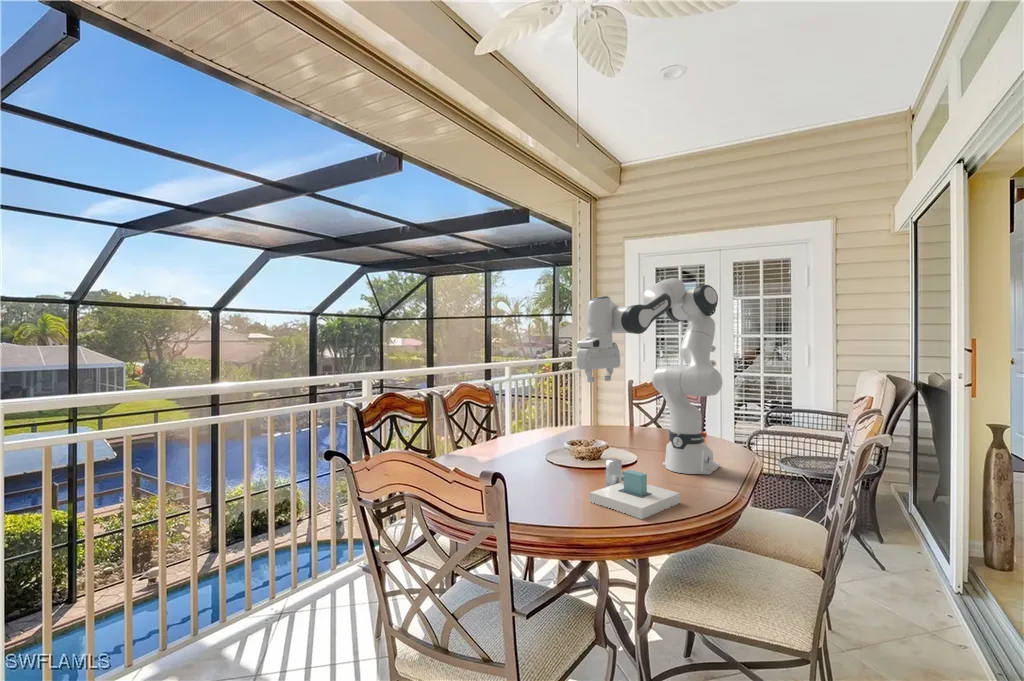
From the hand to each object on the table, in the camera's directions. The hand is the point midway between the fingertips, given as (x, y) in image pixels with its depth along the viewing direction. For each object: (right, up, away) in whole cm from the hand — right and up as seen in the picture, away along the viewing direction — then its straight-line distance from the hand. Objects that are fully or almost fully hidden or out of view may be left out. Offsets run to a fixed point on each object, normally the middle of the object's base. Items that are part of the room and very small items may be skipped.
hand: (599, 381), depth 169 cm
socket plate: (+6, -34, -25) cm, 43 cm away
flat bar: (+6, -34, -25) cm, 43 cm away
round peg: (+3, -34, -11) cm, 36 cm away
